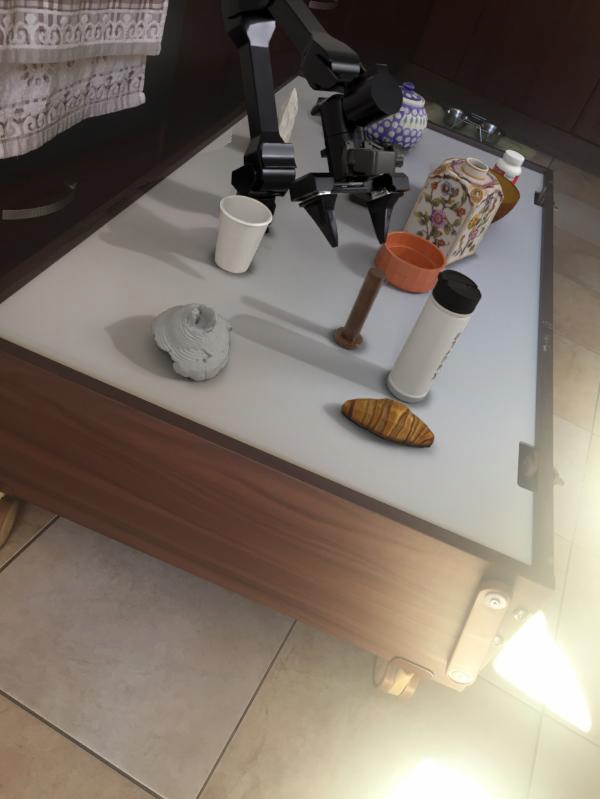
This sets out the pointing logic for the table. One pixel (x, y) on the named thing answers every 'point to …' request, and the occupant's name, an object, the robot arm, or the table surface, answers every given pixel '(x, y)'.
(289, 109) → the stone tool
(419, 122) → the teapot
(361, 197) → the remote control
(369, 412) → the croissant
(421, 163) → the table surface
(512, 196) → the bowl
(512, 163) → the pill bottle
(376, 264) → the orange round container
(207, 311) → the grey clay mound
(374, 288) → the brown flanged peg
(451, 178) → the decorative jar
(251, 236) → the dixie cup
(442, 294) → the travel mug
